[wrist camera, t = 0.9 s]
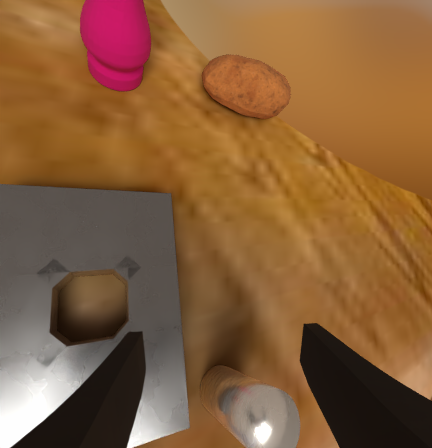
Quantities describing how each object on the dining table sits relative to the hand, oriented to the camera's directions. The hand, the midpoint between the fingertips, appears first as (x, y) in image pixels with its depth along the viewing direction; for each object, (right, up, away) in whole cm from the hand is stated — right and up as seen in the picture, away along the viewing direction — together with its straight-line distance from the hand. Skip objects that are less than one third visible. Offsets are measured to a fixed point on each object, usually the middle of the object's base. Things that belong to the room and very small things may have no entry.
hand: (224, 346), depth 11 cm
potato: (+3, +24, +27) cm, 36 cm away
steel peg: (0, -10, +13) cm, 16 cm away
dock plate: (-11, -2, +11) cm, 16 cm away
